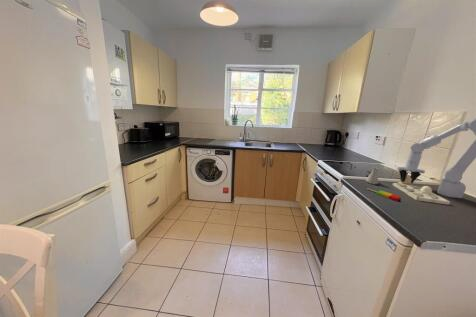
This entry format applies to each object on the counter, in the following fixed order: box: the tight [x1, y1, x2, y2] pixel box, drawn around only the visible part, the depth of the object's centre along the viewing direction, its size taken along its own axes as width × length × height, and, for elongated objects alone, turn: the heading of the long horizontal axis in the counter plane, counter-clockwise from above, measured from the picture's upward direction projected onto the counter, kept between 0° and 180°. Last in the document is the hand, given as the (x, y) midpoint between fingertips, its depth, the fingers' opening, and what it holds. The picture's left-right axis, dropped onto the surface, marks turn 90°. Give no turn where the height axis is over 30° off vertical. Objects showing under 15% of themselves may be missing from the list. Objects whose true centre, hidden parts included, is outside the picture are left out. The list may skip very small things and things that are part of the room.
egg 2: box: [420, 185, 433, 195], centre depth 103 cm, size 4×4×5 cm
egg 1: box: [402, 175, 412, 185], centre depth 119 cm, size 4×4×5 cm
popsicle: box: [366, 188, 401, 202], centre depth 101 cm, size 6×15×2 cm, turn 34°
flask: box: [365, 166, 380, 185], centre depth 118 cm, size 7×7×10 cm
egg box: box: [392, 182, 451, 206], centre depth 104 cm, size 14×21×2 cm
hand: (406, 182), depth 120 cm, fingers closed on egg 1, 4 cm apart
